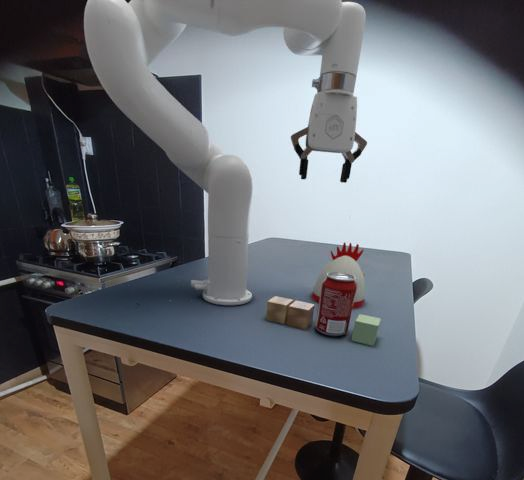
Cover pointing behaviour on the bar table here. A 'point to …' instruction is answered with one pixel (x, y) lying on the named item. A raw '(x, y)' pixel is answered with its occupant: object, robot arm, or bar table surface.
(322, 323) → the soda can
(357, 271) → the kitchen timer
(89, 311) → the bar table surface
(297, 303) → the beech block
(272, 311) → the maple block
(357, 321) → the sage block
